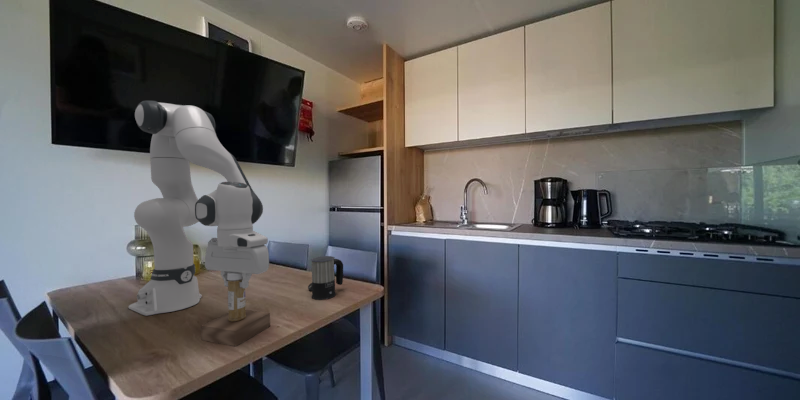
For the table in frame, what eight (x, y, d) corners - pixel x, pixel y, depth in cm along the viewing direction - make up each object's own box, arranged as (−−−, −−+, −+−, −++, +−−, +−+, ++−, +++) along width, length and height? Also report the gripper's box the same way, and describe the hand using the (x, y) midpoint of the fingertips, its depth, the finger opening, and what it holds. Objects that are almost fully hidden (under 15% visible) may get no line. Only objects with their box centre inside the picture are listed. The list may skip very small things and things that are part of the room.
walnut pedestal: (201, 339, 77) (201, 325, 77) (239, 321, 88) (238, 308, 88) (235, 346, 73) (235, 331, 73) (270, 326, 85) (269, 312, 85)
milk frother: (326, 301, 105) (325, 261, 105) (292, 296, 110) (291, 258, 110) (346, 289, 118) (346, 254, 118) (315, 286, 124) (315, 252, 124)
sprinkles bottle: (246, 319, 80) (246, 272, 80) (227, 323, 78) (227, 274, 78) (245, 314, 84) (245, 268, 84) (227, 317, 82) (227, 271, 82)
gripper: (197, 239, 81) (198, 287, 81) (254, 241, 75) (255, 293, 75) (218, 236, 87) (219, 281, 87) (272, 238, 81) (273, 286, 81)
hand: (236, 286), depth 81 cm, fingers closed on sprinkles bottle, 4 cm apart
